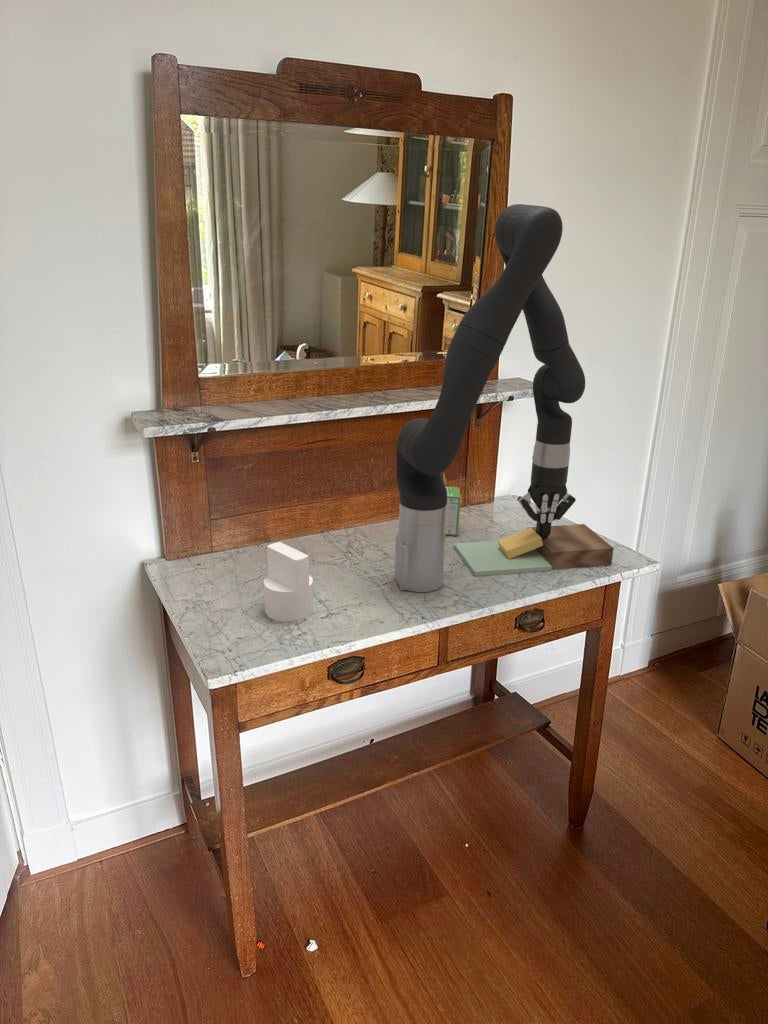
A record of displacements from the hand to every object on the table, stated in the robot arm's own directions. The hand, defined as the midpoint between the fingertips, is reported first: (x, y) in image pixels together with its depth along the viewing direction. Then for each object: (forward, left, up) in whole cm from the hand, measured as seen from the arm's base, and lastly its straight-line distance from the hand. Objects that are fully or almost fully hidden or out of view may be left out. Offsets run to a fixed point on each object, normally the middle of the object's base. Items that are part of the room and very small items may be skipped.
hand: (542, 537), depth 165 cm
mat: (-9, 0, -4) cm, 10 cm away
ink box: (-16, +18, -5) cm, 24 cm away
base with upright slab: (-57, -15, -5) cm, 59 cm away
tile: (-5, +1, -2) cm, 5 cm away
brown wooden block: (+6, 0, -4) cm, 8 cm away
